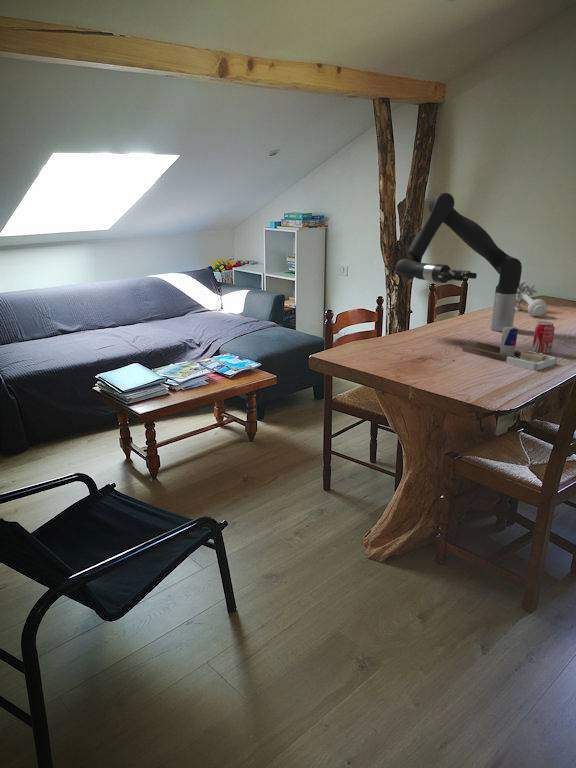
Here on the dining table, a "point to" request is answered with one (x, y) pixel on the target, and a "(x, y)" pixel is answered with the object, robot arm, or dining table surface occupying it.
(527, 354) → the tan cube
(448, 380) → the dining table surface
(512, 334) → the energy drink
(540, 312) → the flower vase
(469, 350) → the slot rails
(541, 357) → the chip
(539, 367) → the tray
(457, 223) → the robot arm
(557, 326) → the dining table surface
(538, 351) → the soda can
